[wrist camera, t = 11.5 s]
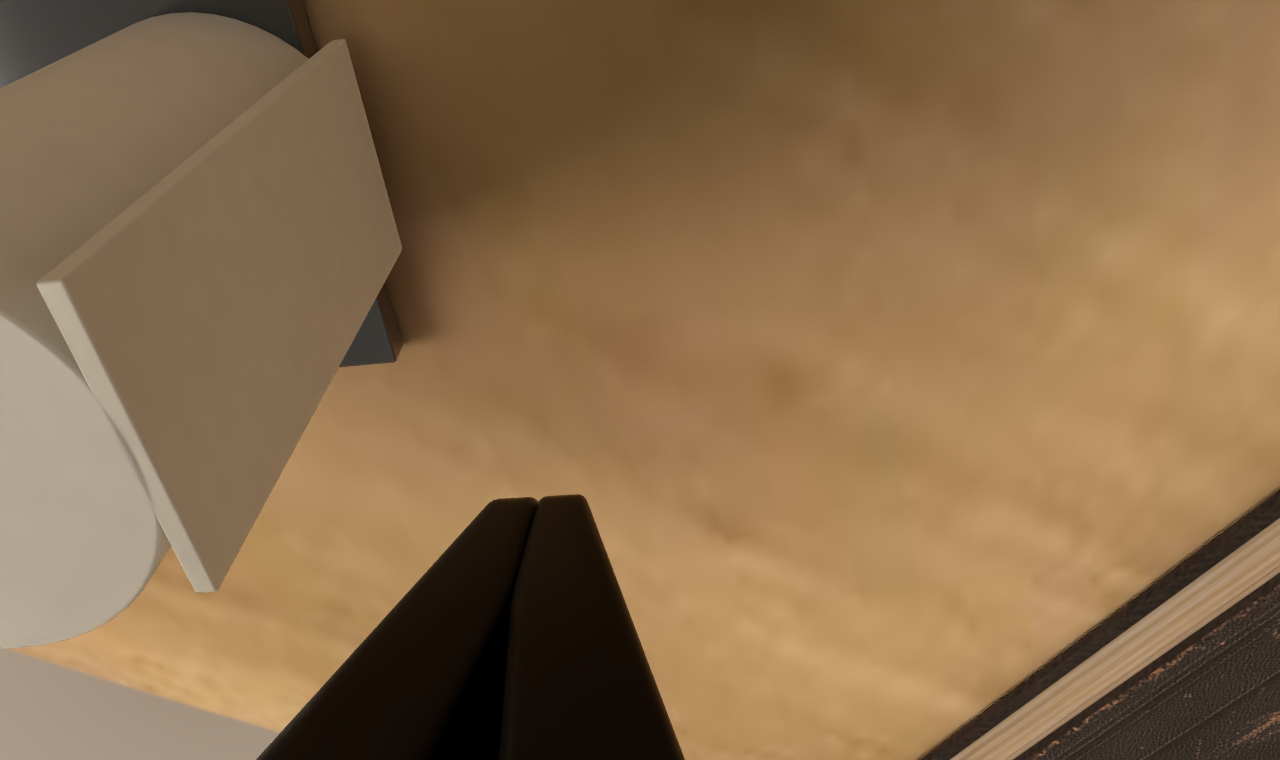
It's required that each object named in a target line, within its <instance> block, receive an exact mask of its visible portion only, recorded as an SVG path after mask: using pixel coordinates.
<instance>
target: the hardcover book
mask: <svg viewBox="0 0 1280 760" xmlns="http://www.w3.org/2000/svg"><path fill="white" fill-rule="evenodd" d="M921 760H1280V491H1279V492H1278V493H1276V494H1275V495H1274V496H1272V497H1271V498H1270V499H1268V500H1267V501H1266V502H1264V503H1263V504H1262V505H1260V506H1259V507H1258V508H1256V509H1255V510H1254V511H1252V512H1251V513H1250V514H1248V515H1247V516H1246V517H1244V518H1243V519H1242V520H1240V521H1239V522H1238V523H1236V524H1235V525H1234V526H1232V527H1231V528H1230V529H1228V530H1227V531H1226V532H1224V533H1223V534H1222V535H1220V536H1219V537H1218V538H1216V539H1215V540H1214V541H1212V542H1211V543H1210V544H1208V545H1207V546H1206V547H1204V548H1203V549H1202V550H1200V551H1199V552H1198V553H1196V554H1195V555H1194V556H1192V557H1191V558H1190V559H1188V560H1187V561H1186V562H1184V563H1183V564H1182V565H1180V566H1179V567H1178V568H1176V569H1175V570H1174V571H1172V572H1171V573H1170V574H1168V575H1167V576H1166V577H1164V578H1163V579H1162V580H1160V581H1159V582H1158V583H1156V584H1155V585H1154V586H1152V587H1151V588H1150V589H1148V590H1147V591H1146V592H1144V593H1143V594H1142V595H1140V596H1139V597H1138V598H1136V599H1135V600H1134V601H1132V602H1131V603H1130V604H1128V605H1127V606H1126V607H1124V608H1123V609H1122V610H1120V611H1119V612H1118V613H1116V614H1115V615H1114V616H1112V617H1111V618H1110V619H1108V620H1107V621H1106V622H1104V623H1103V624H1102V625H1100V626H1099V627H1098V628H1096V629H1095V630H1094V631H1092V632H1091V633H1090V634H1088V635H1087V636H1086V637H1084V638H1083V639H1082V640H1080V641H1079V642H1078V643H1076V644H1075V645H1074V646H1072V647H1071V648H1070V649H1068V650H1067V651H1066V652H1064V653H1063V654H1062V655H1060V656H1059V657H1058V658H1056V659H1055V660H1054V661H1052V662H1051V663H1049V664H1048V665H1047V666H1045V667H1044V668H1043V669H1041V670H1040V671H1039V672H1037V673H1036V674H1035V675H1033V676H1032V677H1031V678H1029V679H1028V680H1027V681H1025V682H1024V683H1023V684H1021V685H1020V686H1019V687H1017V688H1016V689H1015V690H1013V691H1012V692H1011V693H1009V694H1008V695H1007V696H1005V697H1004V698H1003V699H1001V700H1000V701H999V702H997V703H996V704H995V705H993V706H992V707H991V708H989V709H988V710H987V711H985V712H984V713H983V714H981V715H980V716H979V717H977V718H976V719H975V720H973V721H972V722H971V723H969V724H968V725H967V726H965V727H964V728H963V729H961V730H960V731H959V732H957V733H956V734H955V735H953V736H952V737H951V738H949V739H948V740H947V741H945V742H944V743H943V744H941V745H940V746H939V747H937V748H936V749H935V750H933V751H932V752H931V753H929V754H928V755H927V756H925V757H924V758H923V759H921Z"/></svg>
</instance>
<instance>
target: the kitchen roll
mask: <svg viewBox="0 0 1280 760" xmlns="http://www.w3.org/2000/svg"><path fill="white" fill-rule="evenodd" d="M401 251H402V245H401V242H400V238H399V234H398V231H397V227H396V223H395V220H394V216H393V212H392V209H391V205H390V201H389V198H388V194H387V190H386V187H385V183H384V179H383V175H382V172H381V168H380V164H379V161H378V157H377V153H376V150H375V146H374V142H373V139H372V135H371V131H370V128H369V124H368V120H367V117H366V113H365V109H364V106H363V102H362V98H361V95H360V91H359V87H358V84H357V80H356V76H355V73H354V69H353V65H352V62H351V58H350V54H349V51H348V47H347V43H346V40H345V39H340V40H332V41H330V42H329V43H328V44H327V45H325V46H324V47H323V48H322V49H321V50H319V51H318V52H317V53H316V54H314V55H313V56H312V57H311V58H310V59H308V58H307V57H306V56H304V55H303V54H302V53H301V52H299V51H298V50H297V49H295V48H294V47H292V46H291V45H289V44H288V43H286V42H284V41H283V40H281V39H280V38H278V37H277V36H274V35H272V34H270V33H268V32H266V31H264V30H262V29H260V28H258V27H256V26H253V25H251V24H248V23H245V22H242V21H239V20H237V19H233V18H228V17H224V16H220V15H215V14H206V13H196V12H186V13H170V14H165V15H160V16H155V17H151V18H148V19H145V20H143V21H140V22H137V23H134V24H132V25H130V26H128V27H126V28H124V29H122V30H120V31H118V32H116V33H114V34H112V35H110V36H108V37H106V38H103V39H101V40H99V41H97V42H95V43H93V44H91V45H89V46H87V47H85V48H83V49H81V50H79V51H77V52H75V53H72V54H70V55H68V56H66V57H64V58H62V59H60V60H58V61H56V62H54V63H52V64H50V65H48V66H46V67H44V68H41V69H39V70H37V71H35V72H33V73H31V74H29V75H27V76H25V77H23V78H21V79H19V80H17V81H15V82H13V83H10V84H8V85H6V86H4V87H2V88H0V649H6V648H23V647H32V646H41V645H46V644H50V643H55V642H59V641H64V640H68V639H70V638H73V637H76V636H79V635H81V634H84V633H87V632H90V631H91V630H93V629H95V628H97V627H99V626H101V625H102V624H104V623H106V622H108V621H110V620H111V619H113V618H114V617H115V616H117V615H118V614H119V613H121V612H122V611H123V610H124V609H126V608H127V607H128V606H129V605H130V604H131V603H132V602H133V601H134V600H135V599H136V598H137V596H138V595H139V594H140V593H141V592H142V591H143V589H144V588H145V586H146V585H147V583H148V582H149V580H150V578H151V577H152V575H153V574H154V572H155V570H156V569H157V567H158V566H159V564H160V563H161V561H162V559H163V558H164V556H165V555H166V553H167V552H168V550H169V548H170V547H171V546H172V548H173V550H174V552H175V554H176V556H177V558H178V559H179V561H180V563H181V565H182V567H183V569H184V571H185V573H186V575H187V577H188V579H189V581H190V583H191V585H192V587H193V588H194V590H195V592H197V593H204V592H216V591H217V590H218V589H219V587H220V585H221V583H222V582H223V580H224V578H225V576H226V574H227V572H228V570H229V569H230V567H231V565H232V563H233V561H234V559H235V558H236V556H237V554H238V552H239V550H240V548H241V546H242V545H243V543H244V541H245V539H246V537H247V535H248V534H249V532H250V530H251V528H252V526H253V524H254V522H255V521H256V519H257V517H258V515H259V513H260V511H261V510H262V508H263V506H264V504H265V502H266V500H267V499H268V497H269V495H270V493H271V491H272V489H273V487H274V486H275V484H276V482H277V480H278V478H279V476H280V475H281V473H282V471H283V469H284V467H285V465H286V463H287V462H288V460H289V458H290V456H291V454H292V452H293V451H294V449H295V447H296V445H297V443H298V441H299V439H300V438H301V436H302V434H303V432H304V430H305V428H306V427H307V425H308V423H309V421H310V419H311V417H312V415H313V414H314V412H315V410H316V408H317V406H318V404H319V403H320V401H321V399H322V397H323V395H324V393H325V391H326V390H327V388H328V386H329V384H330V382H331V380H332V379H333V377H334V375H335V373H336V371H337V369H338V367H339V366H340V364H341V362H342V360H343V358H344V356H345V355H346V353H347V351H348V349H349V347H350V345H351V344H352V342H353V340H354V338H355V336H356V334H357V332H358V331H359V329H360V327H361V325H362V323H363V321H364V320H365V318H366V316H367V314H368V312H369V310H370V308H371V307H372V305H373V303H374V301H375V299H376V297H377V296H378V294H379V292H380V290H381V288H382V286H383V284H384V283H385V281H386V279H387V277H388V275H389V273H390V272H391V270H392V268H393V266H394V264H395V262H396V260H397V259H398V257H399V255H400V253H401Z"/></svg>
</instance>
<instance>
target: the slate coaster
mask: <svg viewBox="0 0 1280 760" xmlns="http://www.w3.org/2000/svg"><path fill="white" fill-rule="evenodd" d="M186 12H196V13H206V14H215V15H220V16H224V17H228V18H233V19H237V20H239V21H242V22H245V23H248V24H251V25H253V26H256V27H258V28H260V29H262V30H264V31H266V32H268V33H270V34H272V35H274V36H277V37H278V38H280V39H281V40H283V41H284V42H286V43H288V44H289V45H291V46H292V47H294V48H295V49H297V50H298V51H299V52H301V53H302V54H303V55H304V56H306V57H307V58H308V59H310V58H311V57H312V56H313V55H314V54H316V53H317V50H316V47H315V44H314V40H313V37H312V33H311V30H310V27H309V23H308V20H307V16H306V13H305V9H304V6H303V3H302V0H0V88H2V87H4V86H6V85H8V84H10V83H13V82H15V81H17V80H19V79H21V78H23V77H25V76H27V75H29V74H31V73H33V72H35V71H37V70H39V69H41V68H44V67H46V66H48V65H50V64H52V63H54V62H56V61H58V60H60V59H62V58H64V57H66V56H68V55H70V54H72V53H75V52H77V51H79V50H81V49H83V48H85V47H87V46H89V45H91V44H93V43H95V42H97V41H99V40H101V39H103V38H106V37H108V36H110V35H112V34H114V33H116V32H118V31H120V30H122V29H124V28H126V27H128V26H130V25H132V24H134V23H137V22H140V21H143V20H145V19H148V18H151V17H155V16H160V15H165V14H170V13H186ZM402 346H403V344H402V340H401V337H400V334H399V330H398V327H397V323H396V320H395V316H394V313H393V310H392V306H391V303H390V299H389V296H388V293H387V289H386V286H385V283H384V284H383V286H382V288H381V290H380V292H379V294H378V296H377V297H376V299H375V301H374V303H373V305H372V307H371V308H370V310H369V312H368V314H367V316H366V318H365V320H364V321H363V323H362V325H361V327H360V329H359V331H358V332H357V334H356V336H355V338H354V340H353V342H352V344H351V345H350V347H349V349H348V351H347V353H346V355H345V356H344V358H343V360H342V362H341V364H340V366H339V367H347V366H358V365H370V364H381V363H393V362H395V361H396V360H397V358H398V355H399V353H400V351H401V349H402Z"/></svg>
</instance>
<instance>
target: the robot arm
mask: <svg viewBox="0 0 1280 760" xmlns="http://www.w3.org/2000/svg"><path fill="white" fill-rule="evenodd" d="M256 760H685V759H684V756H683V753H682V751H681V748H680V746H679V743H678V740H677V738H676V735H675V732H674V730H673V727H672V724H671V722H670V719H669V716H668V714H667V711H666V709H665V706H664V703H663V701H662V698H661V695H660V693H659V690H658V687H657V685H656V682H655V679H654V677H653V674H652V672H651V669H650V666H649V664H648V661H647V658H646V656H645V653H644V650H643V648H642V645H641V642H640V640H639V637H638V635H637V632H636V629H635V627H634V624H633V621H632V619H631V616H630V613H629V611H628V608H627V605H626V603H625V600H624V598H623V595H622V592H621V590H620V587H619V584H618V582H617V579H616V576H615V574H614V571H613V568H612V566H611V563H610V561H609V558H608V555H607V553H606V550H605V547H604V545H603V542H602V539H601V537H600V534H599V531H598V529H597V526H596V524H595V521H594V518H593V516H592V513H591V510H590V508H589V505H588V503H587V500H586V498H585V497H584V496H582V495H578V494H577V495H559V496H546V497H543V498H542V499H541V500H539V502H538V501H537V500H536V499H534V498H532V497H523V498H506V499H497V500H493V501H492V502H490V503H489V504H488V505H487V506H486V507H485V508H484V509H483V510H482V511H481V512H480V513H479V515H478V516H477V517H476V518H475V519H474V520H473V521H472V522H471V523H470V524H469V526H468V527H467V528H466V529H465V530H464V531H463V532H462V533H461V534H460V535H459V537H458V538H457V539H456V540H455V541H454V542H453V543H452V544H451V545H450V546H449V548H448V549H447V550H446V551H445V552H444V553H443V554H442V555H441V556H440V558H439V559H438V560H437V561H436V562H435V563H434V564H433V565H432V566H431V567H430V569H429V570H428V571H427V572H426V573H425V574H424V575H423V576H422V577H421V578H420V580H419V581H418V582H417V583H416V584H415V585H414V586H413V587H412V588H411V589H410V591H409V592H408V593H407V594H406V595H405V596H404V597H403V598H402V599H401V601H400V602H399V603H398V604H397V605H396V606H395V607H394V608H393V609H392V610H391V612H390V613H389V614H388V615H387V616H386V617H385V618H384V619H383V620H382V621H381V623H380V624H379V625H378V626H377V627H376V628H375V629H374V630H373V631H372V632H371V634H370V635H369V636H368V637H367V638H366V639H365V640H364V641H363V642H362V644H361V645H360V646H359V647H358V648H357V649H356V650H355V651H354V652H353V653H352V655H351V656H350V657H349V658H348V659H347V660H346V661H345V662H344V663H343V664H342V666H341V667H340V668H339V669H338V670H337V671H336V672H335V673H334V674H333V675H332V677H331V678H330V679H329V680H328V681H327V682H326V683H325V684H324V685H323V687H322V688H321V689H320V690H319V691H318V692H317V693H316V694H315V695H314V696H313V698H312V699H311V700H310V701H309V702H308V703H307V704H306V705H305V706H304V707H303V709H302V710H301V711H300V712H299V713H298V714H297V715H296V716H295V717H294V718H293V720H292V721H291V722H290V723H289V724H288V725H287V726H286V727H285V728H284V730H283V731H282V732H281V733H280V734H279V735H278V736H277V737H276V738H275V739H274V741H273V742H272V743H271V744H270V745H269V746H268V747H267V748H266V749H265V750H264V752H263V753H262V754H261V755H260V756H259V757H258V758H257V759H256Z"/></svg>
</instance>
